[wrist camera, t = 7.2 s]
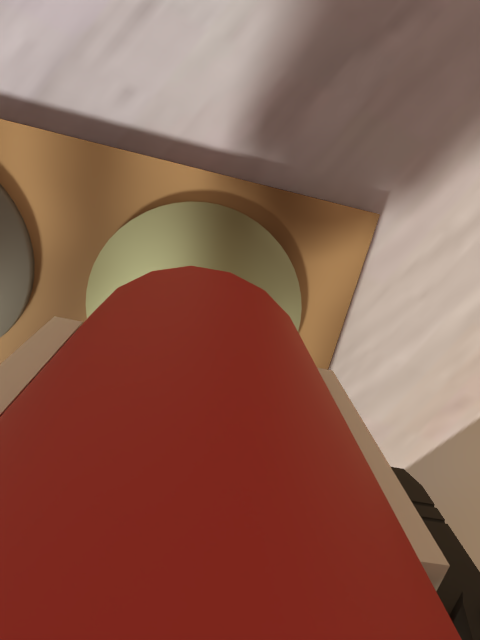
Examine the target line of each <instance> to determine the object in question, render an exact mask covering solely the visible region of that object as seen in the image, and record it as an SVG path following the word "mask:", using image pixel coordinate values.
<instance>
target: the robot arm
mask: <svg viewBox="0 0 480 640" xmlns="http://www.w3.org/2000/svg"><path fill="white" fill-rule="evenodd" d="M82 323H83V322H81V321H76V320H71V319H66V318H60V317H55V316H54V317H53V318H52V319H51V320H50V321H49V322H47V323H46V324H45V325H44V326H43V327H42V328H41V329H40V330H38V331H37V332H36V333H35V334H34V335H33V336H32V337H31V338H29V339H28V340H27V341H26V342H25V343H24V344H23V345H22V346H20V347H19V348H18V349H17V350H16V351H15V352H14V353H13V354H11V355H10V356H9V357H8V358H7V359H6V360H5V361H4V362H2V363H1V364H0V417H1V416H2V414H3V413H4V412H5V411H6V410H7V409H8V408H9V407H10V405H11V404H12V403H13V402H14V401H15V400H16V399H17V397H18V396H19V395H20V394H21V393H22V392H23V391H24V390H25V388H26V387H27V386H28V385H29V384H30V383H31V382H32V381H33V379H34V378H35V377H36V376H37V375H38V374H39V373H40V371H41V370H42V369H43V368H44V367H45V366H46V365H47V364H48V362H49V361H50V360H51V359H52V358H53V357H54V356H55V355H56V353H57V352H58V351H59V350H60V349H61V348H62V347H63V346H64V344H65V343H66V342H67V341H68V340H69V339H70V338H71V336H72V335H73V334H74V333H75V332H76V331H77V330H78V329H79V327H80V326H81V325H82ZM317 369H318V371H319V372H320V374H321V376H322V378H323V380H324V382H325V384H326V386H327V387H328V389H329V391H330V393H331V395H332V397H333V399H334V401H335V402H336V404H337V406H338V408H339V410H340V412H341V414H342V416H343V417H344V419H345V421H346V423H347V425H348V427H349V429H350V431H351V433H352V434H353V436H354V438H355V440H356V442H357V444H358V446H359V448H360V449H361V451H362V453H363V455H364V457H365V459H366V461H367V463H368V464H369V466H370V468H371V470H372V472H373V474H374V476H375V478H376V479H377V481H378V483H379V485H380V487H381V489H382V491H383V493H384V494H385V496H386V498H387V500H388V502H389V504H390V506H391V508H392V510H393V511H394V513H395V515H396V517H397V519H398V521H399V523H400V525H401V526H402V528H403V530H404V532H405V534H406V536H407V538H408V540H409V541H410V543H411V545H412V547H413V549H414V551H415V553H416V555H417V556H418V558H419V560H420V562H421V564H422V566H423V568H424V570H425V571H426V573H427V575H428V577H429V579H430V581H431V583H432V585H433V587H434V588H435V590H436V592H437V594H438V596H439V598H440V600H441V602H442V603H443V605H444V607H445V609H446V611H447V613H448V615H449V617H450V618H451V620H452V622H453V624H454V626H455V628H456V630H457V632H458V633H459V635H460V637H461V639H462V640H480V572H479V570H478V569H477V567H476V566H475V565H474V563H473V562H472V560H471V558H470V557H469V555H468V554H467V553H466V551H465V549H464V548H463V546H462V545H461V544H460V542H459V540H458V539H457V537H456V536H455V535H454V533H453V532H452V530H451V528H450V527H449V526H448V524H445V522H444V521H445V519H444V518H443V516H442V515H441V514H440V512H439V511H438V509H437V508H434V503H433V501H432V500H431V499H430V497H429V496H428V494H427V492H426V491H425V489H424V488H423V487H422V485H421V484H419V483H418V482H417V481H416V480H415V479H414V478H413V477H412V476H411V475H410V474H409V473H407V472H406V471H405V470H404V469H400V468H394V467H390V465H389V464H388V462H387V460H386V459H385V457H384V455H383V454H382V452H381V450H380V449H379V447H378V445H377V444H376V442H375V440H374V439H373V437H372V435H371V434H370V432H369V430H368V429H367V427H366V425H365V424H364V422H363V420H362V419H361V417H360V415H359V414H358V412H357V410H356V409H355V407H354V405H353V404H352V402H351V400H350V399H349V397H348V395H347V394H346V392H345V390H344V389H343V387H342V385H341V384H340V382H339V380H338V379H337V377H336V375H335V374H334V372H333V371H332V370H327V369H322V368H317Z"/></svg>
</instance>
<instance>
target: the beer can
mask: <svg viewBox="0 0 480 640" xmlns="http://www.w3.org/2000/svg"><path fill="white" fill-rule="evenodd" d="M0 640H462V639H461V637H460V635H459V633H458V632H457V630H456V628H455V626H454V624H453V622H452V620H451V618H450V617H449V615H448V613H447V611H446V609H445V607H444V605H443V603H442V602H441V600H440V598H439V596H438V594H437V592H436V590H435V588H434V587H433V585H432V583H431V581H430V579H429V577H428V575H427V573H426V571H425V570H424V568H423V566H422V564H421V562H420V560H419V558H418V556H417V555H416V553H415V551H414V549H413V547H412V545H411V543H410V541H409V540H408V538H407V536H406V534H405V532H404V530H403V528H402V526H401V525H400V523H399V521H398V519H397V517H396V515H395V513H394V511H393V510H392V508H391V506H390V504H389V502H388V500H387V498H386V496H385V494H384V493H383V491H382V489H381V487H380V485H379V483H378V481H377V479H376V478H375V476H374V474H373V472H372V470H371V468H370V466H369V464H368V463H367V461H366V459H365V457H364V455H363V453H362V451H361V449H360V448H359V446H358V444H357V442H356V440H355V438H354V436H353V434H352V433H351V431H350V429H349V427H348V425H347V423H346V421H345V419H344V417H343V416H342V414H341V412H340V410H339V408H338V406H337V404H336V402H335V401H334V399H333V397H332V395H331V393H330V391H329V389H328V387H327V386H326V384H325V382H324V380H323V378H322V376H321V374H320V372H319V371H318V369H317V367H316V365H315V363H314V361H313V359H312V357H311V356H310V354H309V352H308V350H307V348H306V346H305V344H304V342H303V340H302V339H301V337H300V335H299V333H298V331H297V329H296V327H295V325H294V324H293V322H292V320H291V318H290V316H289V315H288V314H287V313H286V312H285V311H284V310H283V309H282V308H281V307H280V306H279V305H278V304H277V303H276V302H275V301H274V299H273V298H272V297H271V296H270V295H269V294H268V293H267V292H266V291H265V290H263V289H261V288H259V287H258V286H256V285H254V284H252V283H250V282H248V281H246V280H244V279H242V278H240V277H238V276H237V275H235V274H233V273H231V272H226V271H220V270H214V269H208V268H202V267H197V266H185V267H178V268H171V269H163V270H156V271H151V272H149V273H147V274H145V275H143V276H141V277H139V278H137V279H135V280H133V281H131V282H129V283H127V284H125V285H122V286H120V287H118V288H117V289H116V290H115V291H114V292H113V293H112V294H111V295H110V296H109V297H108V298H107V299H106V300H105V301H104V302H103V303H102V304H101V305H100V306H99V307H98V308H97V309H96V310H95V311H94V312H93V313H92V314H91V315H90V316H89V317H88V318H87V320H86V321H85V322H84V323H83V324H82V325H81V326H80V327H79V329H78V330H77V331H76V332H75V333H74V334H73V335H72V336H71V338H70V339H69V340H68V341H67V342H66V343H65V344H64V346H63V347H62V348H61V349H60V350H59V351H58V352H57V353H56V355H55V356H54V357H53V358H52V359H51V360H50V361H49V362H48V364H47V365H46V366H45V367H44V368H43V369H42V370H41V371H40V373H39V374H38V375H37V376H36V377H35V378H34V379H33V381H32V382H31V383H30V384H29V385H28V386H27V387H26V388H25V390H24V391H23V392H22V393H21V394H20V395H19V396H18V397H17V399H16V400H15V401H14V402H13V403H12V404H11V405H10V407H9V408H8V409H7V410H6V411H5V412H4V413H3V414H2V416H1V417H0Z"/></svg>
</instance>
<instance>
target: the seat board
mask: <svg viewBox="0 0 480 640" xmlns="http://www.w3.org/2000/svg"><path fill="white" fill-rule="evenodd" d="M379 216H380V214H376V213H372V212H368V211H365V210H361V209H357V208H353V207H349V206H345V205H341V204H337V203H333V202H329V201H325V200H321V199H317V198H313V197H309V196H305V195H301V194H297V193H293V192H289V191H285V190H281V189H277V188H273V187H269V186H265V185H261V184H257V183H253V182H249V181H245V180H241V179H237V178H233V177H229V176H225V175H221V174H217V173H213V172H210V171H206V170H202V169H198V168H194V167H190V166H186V165H182V164H178V163H174V162H170V161H166V160H162V159H158V158H154V157H150V156H146V155H142V154H138V153H134V152H130V151H126V150H122V149H118V148H114V147H110V146H106V145H102V144H98V143H94V142H90V141H86V140H82V139H78V138H74V137H70V136H66V135H62V134H58V133H55V132H51V131H47V130H43V129H39V128H35V127H31V126H27V125H23V124H19V123H15V122H11V121H7V120H3V119H0V364H1V363H2V362H4V361H5V360H6V359H7V358H8V357H9V356H10V355H11V354H13V353H14V352H15V351H16V350H17V349H18V348H19V347H20V346H22V345H23V344H24V343H25V342H26V341H27V340H28V339H29V338H31V337H32V336H33V335H34V334H35V333H36V332H37V331H38V330H40V329H41V328H42V327H43V326H44V325H45V324H46V323H47V322H49V321H50V320H51V319H52V318H53V317H54V316H55V317H60V318H66V319H71V320H76V321H81V322H83V323H84V322H85V321H86V320H87V318H88V317H89V316H90V315H91V314H92V313H93V312H94V311H95V310H96V309H97V308H98V307H99V306H100V305H101V304H102V303H103V302H104V301H105V300H106V299H107V298H108V297H109V296H110V295H111V294H112V293H113V292H114V291H115V290H116V289H117V288H118V287H120V286H122V285H125V284H127V283H129V282H131V281H133V280H135V279H137V278H139V277H141V276H143V275H145V274H147V273H149V272H151V271H156V270H163V269H171V268H178V267H185V266H197V267H202V268H208V269H214V270H220V271H226V272H231V273H233V274H235V275H237V276H238V277H240V278H242V279H244V280H246V281H248V282H250V283H252V284H254V285H256V286H258V287H259V288H261V289H263V290H265V291H266V292H267V293H268V294H269V295H270V296H271V297H272V298H273V299H274V301H275V302H276V303H277V304H278V305H279V306H280V307H281V308H282V309H283V310H284V311H285V312H286V313H287V314H288V315H289V316H290V318H291V320H292V322H293V324H294V325H295V327H296V329H297V331H298V333H299V335H300V337H301V339H302V340H303V342H304V344H305V346H306V348H307V350H308V352H309V354H310V356H311V357H312V359H313V361H314V363H315V365H316V367H317V368H322V369H327V370H328V368H329V365H330V362H331V359H332V356H333V353H334V350H335V347H336V344H337V341H338V338H339V335H340V332H341V329H342V326H343V323H344V320H345V317H346V314H347V311H348V308H349V305H350V302H351V299H352V296H353V293H354V290H355V287H356V284H357V281H358V278H359V275H360V272H361V269H362V266H363V263H364V260H365V257H366V254H367V251H368V248H369V245H370V243H371V240H372V237H373V234H374V231H375V228H376V225H377V222H378V219H379ZM83 323H82V324H83Z"/></svg>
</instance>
